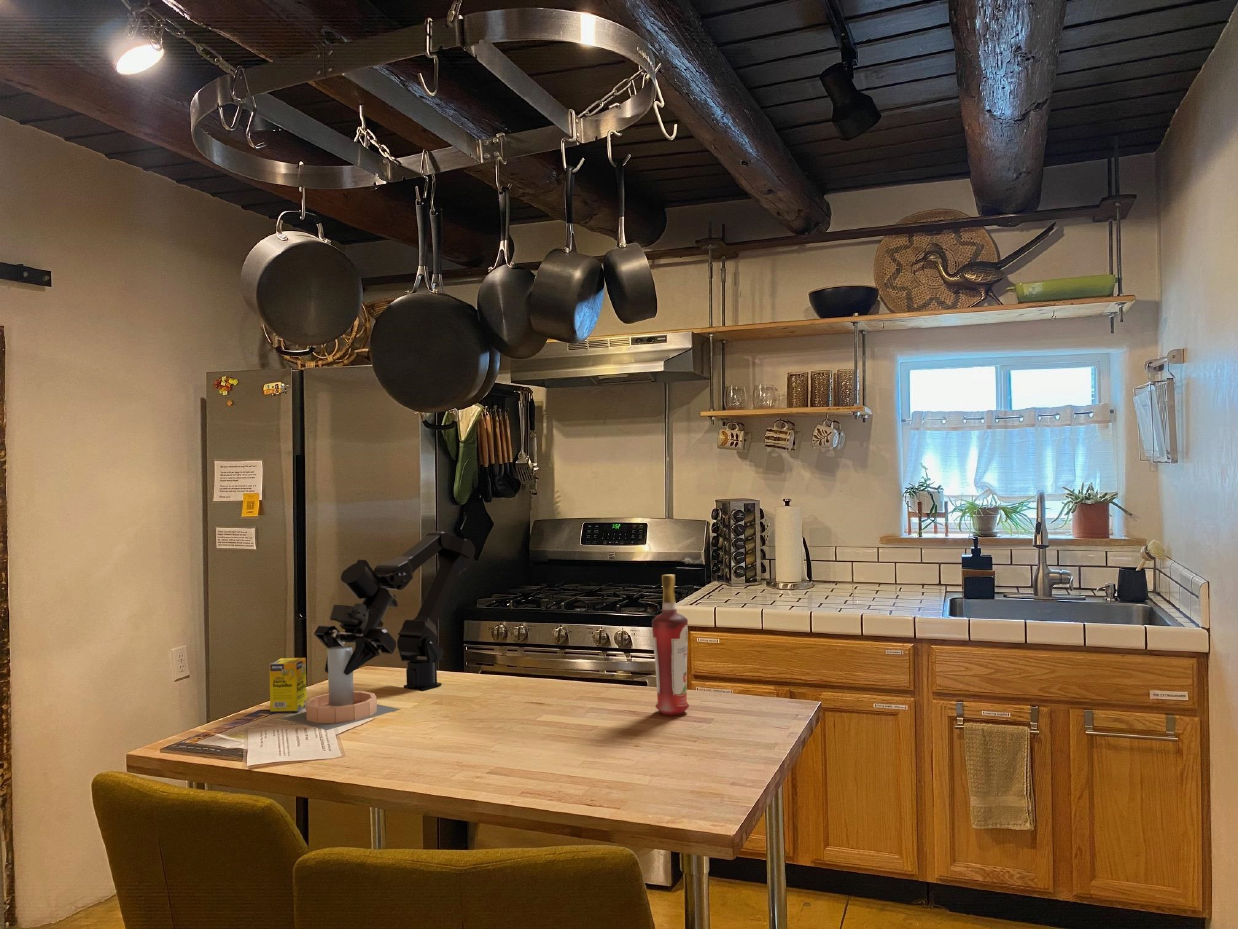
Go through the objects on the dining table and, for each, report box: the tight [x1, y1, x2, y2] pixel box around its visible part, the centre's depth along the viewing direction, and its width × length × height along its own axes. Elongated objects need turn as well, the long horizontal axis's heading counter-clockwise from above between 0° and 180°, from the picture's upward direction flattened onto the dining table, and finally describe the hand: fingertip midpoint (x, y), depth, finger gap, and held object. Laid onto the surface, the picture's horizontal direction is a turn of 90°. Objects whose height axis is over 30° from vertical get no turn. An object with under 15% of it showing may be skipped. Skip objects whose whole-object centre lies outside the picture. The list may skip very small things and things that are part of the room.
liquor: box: [651, 574, 690, 717], centre depth 185 cm, size 7×7×28 cm
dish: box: [304, 690, 378, 723], centre depth 190 cm, size 14×14×3 cm
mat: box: [280, 703, 401, 731], centre depth 190 cm, size 18×16×1 cm
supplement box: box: [268, 657, 308, 715], centre depth 195 cm, size 6×6×11 cm
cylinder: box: [326, 645, 355, 706], centre depth 191 cm, size 5×5×12 cm
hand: (335, 673), depth 189 cm, fingers closed on cylinder, 5 cm apart
